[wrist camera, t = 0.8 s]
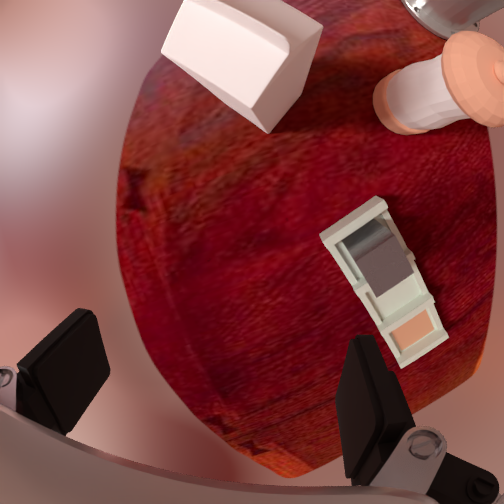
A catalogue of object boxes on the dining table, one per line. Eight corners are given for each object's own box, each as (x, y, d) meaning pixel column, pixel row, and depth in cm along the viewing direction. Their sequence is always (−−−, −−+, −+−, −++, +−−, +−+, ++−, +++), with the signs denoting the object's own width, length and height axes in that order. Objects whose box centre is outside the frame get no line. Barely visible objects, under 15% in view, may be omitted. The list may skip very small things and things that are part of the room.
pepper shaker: (436, 125, 28) (552, 118, 10) (388, 143, 30) (493, 141, 11) (412, 69, 26) (511, 17, 8) (361, 84, 28) (442, 21, 10)
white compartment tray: (375, 195, 32) (383, 199, 29) (440, 326, 36) (448, 337, 33) (319, 234, 34) (322, 241, 31) (395, 356, 38) (401, 368, 35)
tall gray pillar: (373, 218, 32) (395, 234, 25) (391, 249, 32) (414, 272, 26) (341, 240, 33) (355, 262, 26) (360, 270, 34) (376, 297, 27)
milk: (258, 64, 28) (219, -58, 7) (302, 94, 29) (336, -5, 8) (224, 104, 30) (131, 31, 9) (268, 136, 31) (243, 96, 10)
